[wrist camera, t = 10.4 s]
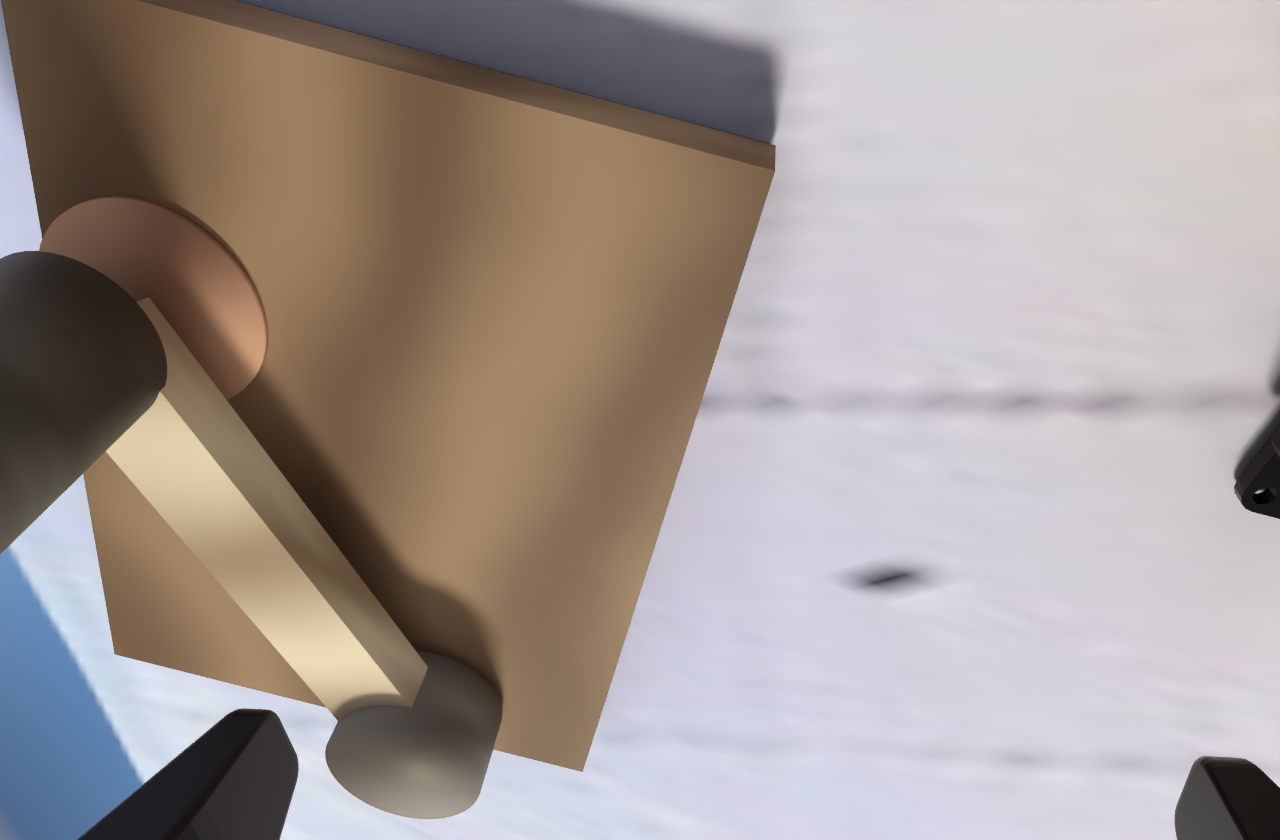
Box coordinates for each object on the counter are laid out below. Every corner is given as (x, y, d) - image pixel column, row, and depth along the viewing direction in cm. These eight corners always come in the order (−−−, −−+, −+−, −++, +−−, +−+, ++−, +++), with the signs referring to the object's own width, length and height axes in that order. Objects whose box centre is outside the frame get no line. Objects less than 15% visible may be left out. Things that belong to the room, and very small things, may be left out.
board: (775, 145, 19) (774, 174, 17) (590, 731, 30) (581, 777, 29) (42, -51, 18) (-19, -38, 17) (139, 617, 30) (107, 658, 28)
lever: (527, 737, 28) (452, 1015, 21) (406, 756, 29) (302, 1023, 23) (136, 189, 19) (-186, 388, 13) (-11, 255, 20) (-367, 463, 14)
